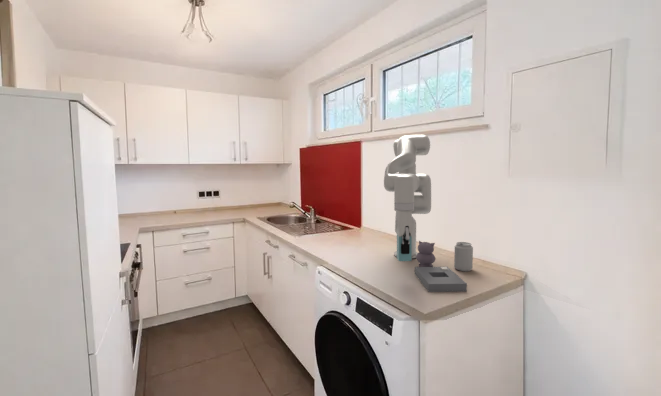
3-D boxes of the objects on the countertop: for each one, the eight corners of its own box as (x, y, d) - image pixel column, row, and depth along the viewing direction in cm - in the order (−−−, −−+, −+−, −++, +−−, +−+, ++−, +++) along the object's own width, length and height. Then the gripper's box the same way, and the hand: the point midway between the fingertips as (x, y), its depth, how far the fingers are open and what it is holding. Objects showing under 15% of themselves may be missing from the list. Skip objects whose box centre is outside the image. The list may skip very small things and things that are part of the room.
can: (457, 265, 147) (457, 240, 145) (474, 268, 142) (475, 242, 141) (451, 269, 141) (452, 243, 140) (469, 273, 136) (470, 246, 135)
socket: (414, 273, 137) (414, 265, 136) (447, 273, 136) (447, 265, 136) (428, 291, 117) (428, 282, 116) (466, 291, 116) (466, 282, 116)
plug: (396, 258, 129) (396, 234, 127) (409, 257, 129) (409, 233, 127) (398, 261, 125) (398, 236, 123) (411, 260, 125) (411, 236, 123)
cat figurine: (412, 268, 144) (413, 242, 143) (420, 263, 150) (420, 239, 149) (430, 271, 139) (431, 245, 138) (438, 267, 145) (438, 241, 143)
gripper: (390, 203, 132) (390, 246, 134) (399, 210, 116) (398, 258, 118) (408, 203, 132) (408, 245, 134) (419, 210, 116) (418, 258, 118)
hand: (403, 251), depth 126 cm, fingers closed on plug, 4 cm apart
